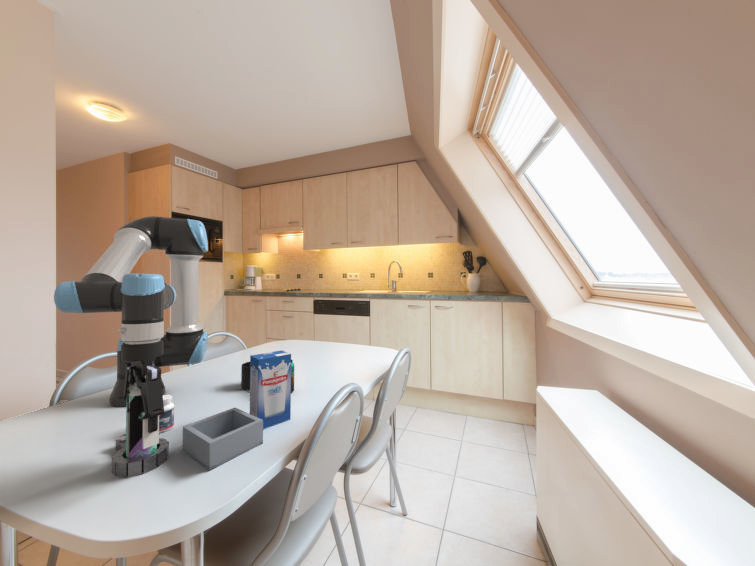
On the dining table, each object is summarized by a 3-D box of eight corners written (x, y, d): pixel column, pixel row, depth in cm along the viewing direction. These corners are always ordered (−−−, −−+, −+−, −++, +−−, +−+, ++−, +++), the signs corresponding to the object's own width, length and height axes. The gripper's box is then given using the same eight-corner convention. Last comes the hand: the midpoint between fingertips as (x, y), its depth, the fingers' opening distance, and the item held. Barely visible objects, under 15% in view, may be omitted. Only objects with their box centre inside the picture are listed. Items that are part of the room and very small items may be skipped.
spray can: (139, 472, 62) (140, 380, 62) (119, 468, 63) (120, 378, 63) (162, 457, 68) (163, 372, 68) (143, 454, 69) (144, 371, 69)
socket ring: (96, 454, 68) (96, 442, 68) (146, 436, 76) (147, 425, 76) (120, 483, 59) (121, 469, 59) (175, 459, 67) (175, 446, 67)
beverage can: (275, 397, 104) (275, 364, 104) (274, 390, 110) (274, 359, 110) (295, 394, 106) (295, 362, 106) (292, 388, 113) (293, 357, 113)
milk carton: (281, 412, 91) (281, 350, 91) (290, 419, 87) (291, 353, 87) (249, 423, 84) (250, 355, 84) (257, 431, 80) (258, 359, 80)
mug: (247, 394, 106) (247, 370, 106) (238, 385, 115) (238, 363, 115) (272, 388, 112) (273, 365, 112) (262, 380, 121) (262, 359, 121)
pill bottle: (148, 435, 77) (148, 402, 77) (153, 426, 82) (153, 395, 82) (172, 431, 80) (172, 399, 80) (175, 422, 84) (175, 392, 84)
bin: (182, 450, 70) (182, 426, 70) (234, 428, 81) (234, 407, 81) (209, 470, 63) (210, 443, 63) (262, 443, 74) (263, 420, 74)
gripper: (106, 337, 69) (105, 430, 68) (140, 350, 56) (139, 464, 56) (144, 333, 75) (143, 418, 75) (183, 344, 62) (182, 446, 62)
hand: (141, 438), depth 65 cm, fingers open, 10 cm apart
